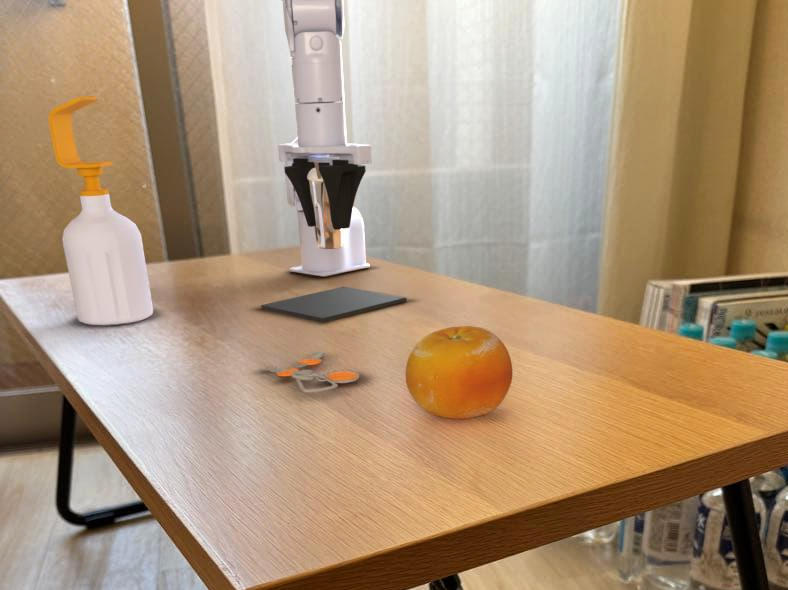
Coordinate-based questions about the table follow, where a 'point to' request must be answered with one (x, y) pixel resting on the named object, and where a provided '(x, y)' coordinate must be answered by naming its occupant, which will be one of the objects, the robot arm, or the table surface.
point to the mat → (333, 303)
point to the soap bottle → (99, 240)
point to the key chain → (315, 374)
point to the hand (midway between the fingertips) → (328, 227)
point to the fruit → (459, 372)
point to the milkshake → (322, 213)
